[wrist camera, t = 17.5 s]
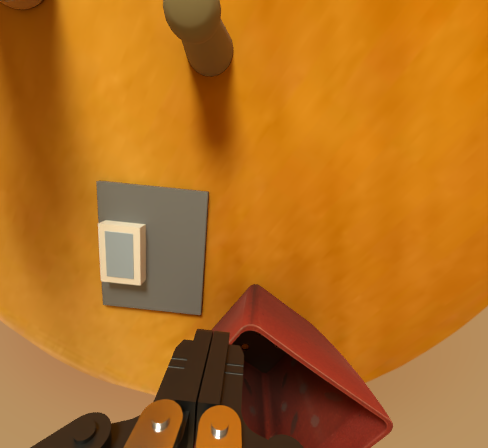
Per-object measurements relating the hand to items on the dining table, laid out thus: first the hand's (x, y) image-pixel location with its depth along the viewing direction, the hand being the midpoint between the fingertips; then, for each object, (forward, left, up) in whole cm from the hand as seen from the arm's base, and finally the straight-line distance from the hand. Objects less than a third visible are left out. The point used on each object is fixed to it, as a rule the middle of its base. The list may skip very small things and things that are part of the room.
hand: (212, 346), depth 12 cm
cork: (-21, -6, -27) cm, 35 cm away
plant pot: (+19, +5, -27) cm, 34 cm away
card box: (+7, -14, -25) cm, 30 cm away
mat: (+7, -13, -27) cm, 31 cm away
